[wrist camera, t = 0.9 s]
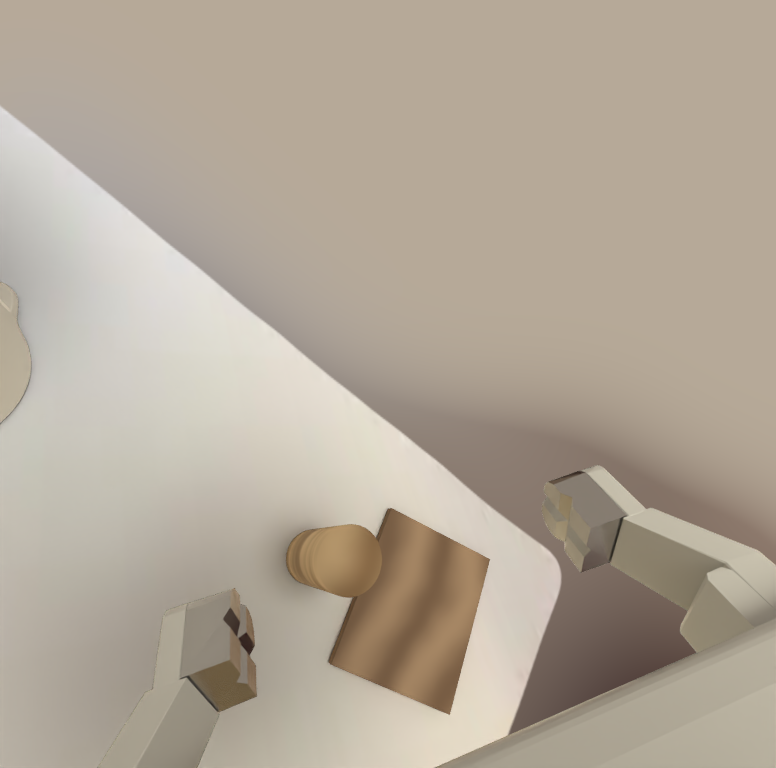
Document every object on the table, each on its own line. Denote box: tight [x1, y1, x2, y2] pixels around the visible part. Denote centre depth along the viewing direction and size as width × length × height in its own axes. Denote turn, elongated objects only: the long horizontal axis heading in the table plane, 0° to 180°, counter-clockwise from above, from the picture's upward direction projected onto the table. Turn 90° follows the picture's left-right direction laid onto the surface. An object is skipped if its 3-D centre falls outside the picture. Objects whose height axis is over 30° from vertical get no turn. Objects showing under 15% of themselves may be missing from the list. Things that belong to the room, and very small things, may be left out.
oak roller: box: [286, 524, 382, 597], centre depth 38 cm, size 5×5×12 cm
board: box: [329, 508, 490, 715], centre depth 45 cm, size 13×15×1 cm
